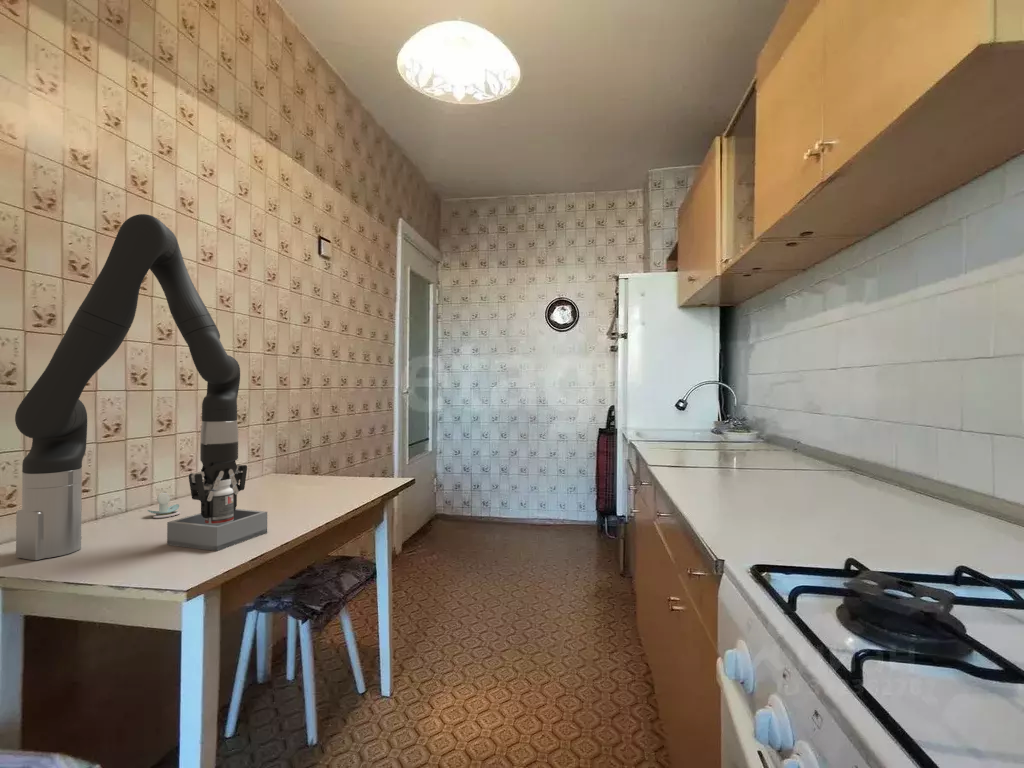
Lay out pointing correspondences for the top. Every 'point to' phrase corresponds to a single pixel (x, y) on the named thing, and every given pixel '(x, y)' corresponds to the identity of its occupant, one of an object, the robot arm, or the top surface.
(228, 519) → the pill bottle
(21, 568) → the top surface
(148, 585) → the top surface
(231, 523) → the bin
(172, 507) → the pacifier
